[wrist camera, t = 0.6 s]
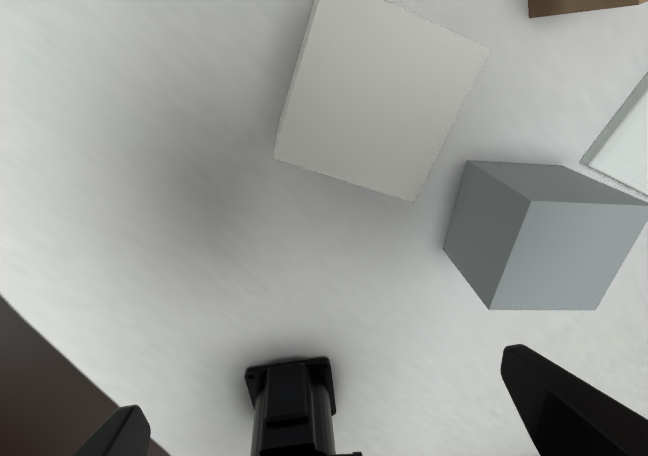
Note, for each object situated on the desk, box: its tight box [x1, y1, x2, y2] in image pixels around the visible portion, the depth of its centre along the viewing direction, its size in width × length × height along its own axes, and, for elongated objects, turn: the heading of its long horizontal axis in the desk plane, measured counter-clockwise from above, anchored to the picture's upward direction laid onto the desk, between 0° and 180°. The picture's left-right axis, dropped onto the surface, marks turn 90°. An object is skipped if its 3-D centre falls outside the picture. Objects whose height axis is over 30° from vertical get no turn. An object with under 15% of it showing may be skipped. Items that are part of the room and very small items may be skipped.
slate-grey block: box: [443, 160, 648, 310], centre depth 19 cm, size 6×6×6 cm
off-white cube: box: [273, 0, 491, 203], centre depth 15 cm, size 6×6×6 cm
